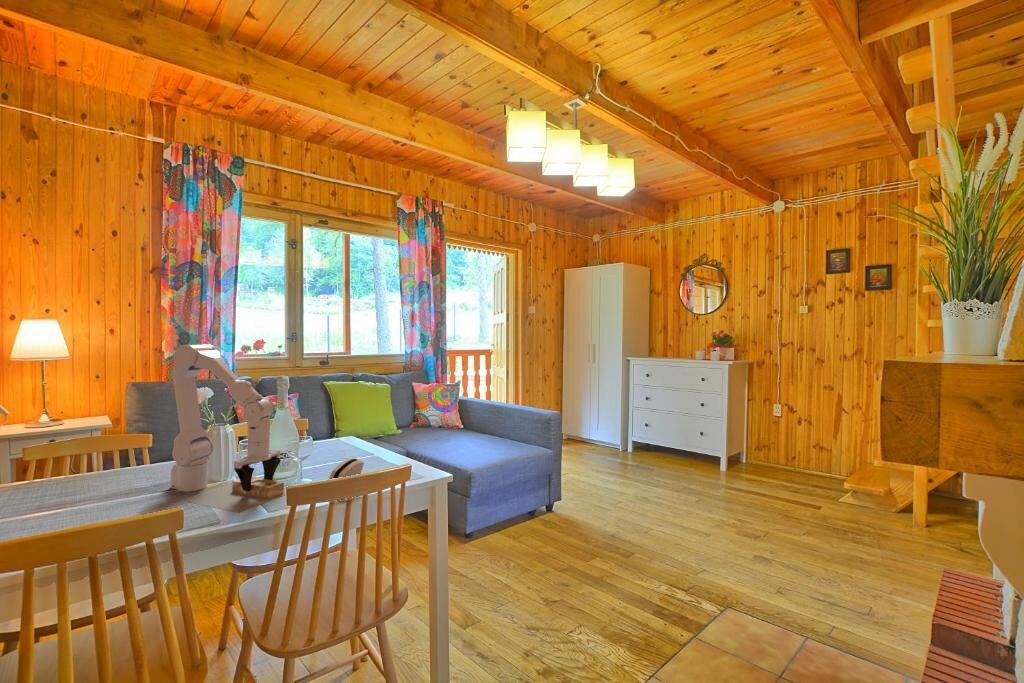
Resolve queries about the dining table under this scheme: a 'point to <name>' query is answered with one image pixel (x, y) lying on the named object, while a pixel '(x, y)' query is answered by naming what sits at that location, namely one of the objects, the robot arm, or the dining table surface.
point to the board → (229, 499)
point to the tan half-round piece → (347, 468)
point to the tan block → (260, 487)
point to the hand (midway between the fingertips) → (257, 486)
